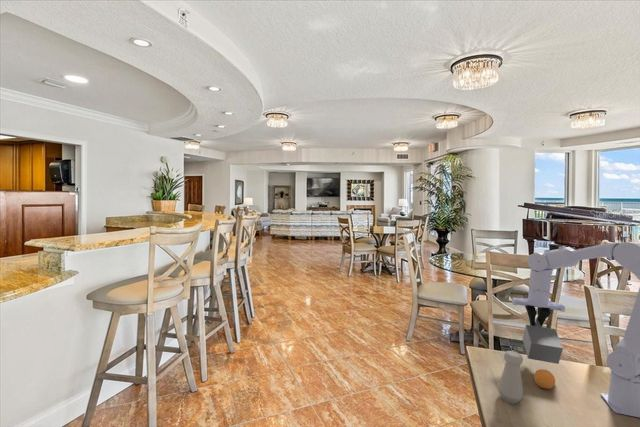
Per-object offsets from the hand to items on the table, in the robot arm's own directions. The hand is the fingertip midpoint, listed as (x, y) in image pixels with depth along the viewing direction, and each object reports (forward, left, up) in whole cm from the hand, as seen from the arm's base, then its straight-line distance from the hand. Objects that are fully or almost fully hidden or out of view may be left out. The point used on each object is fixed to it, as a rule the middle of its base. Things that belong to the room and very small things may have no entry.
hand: (535, 328), depth 110 cm
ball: (+1, +17, -8) cm, 19 cm away
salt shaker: (+12, +27, -11) cm, 31 cm away
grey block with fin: (0, +4, -4) cm, 5 cm away
